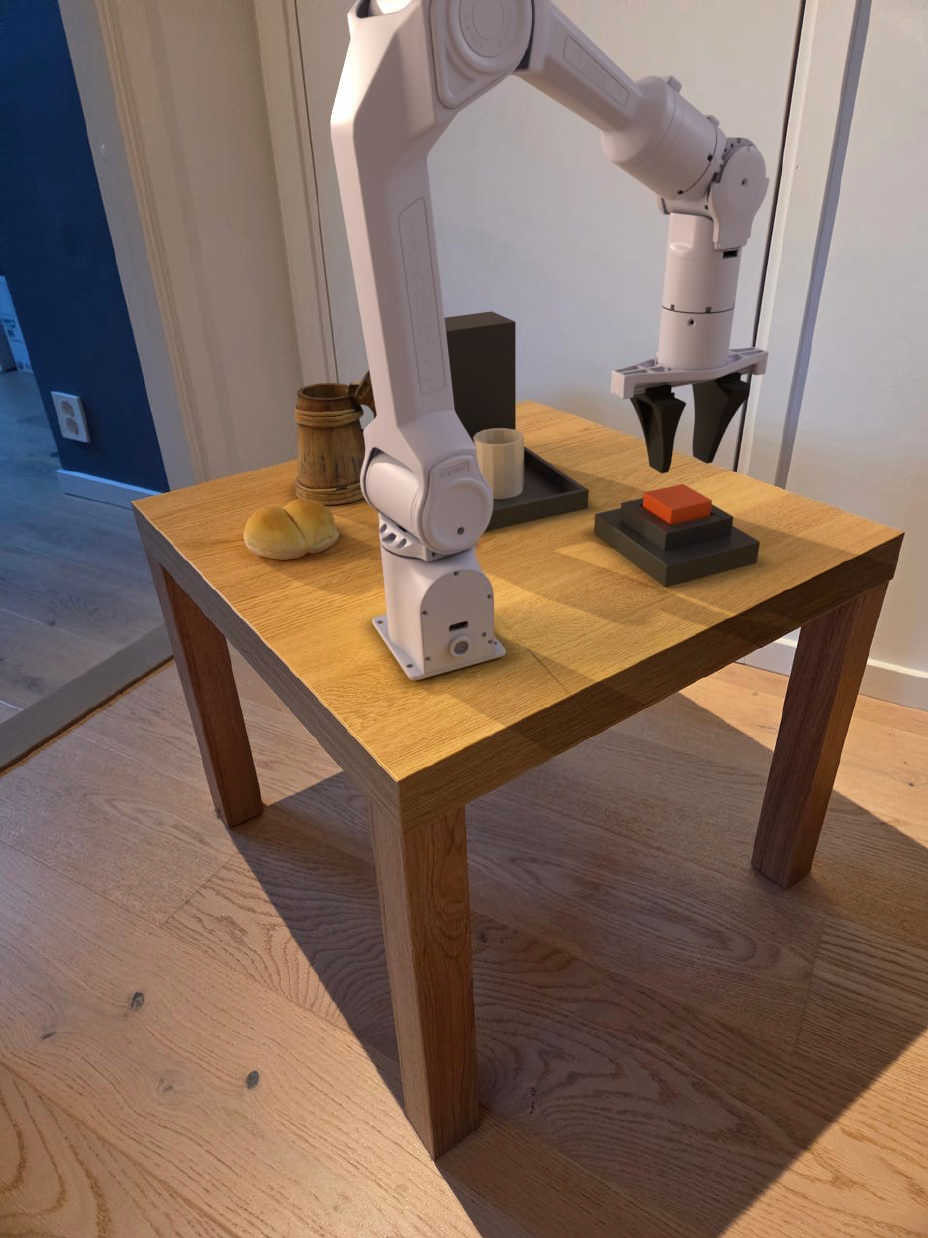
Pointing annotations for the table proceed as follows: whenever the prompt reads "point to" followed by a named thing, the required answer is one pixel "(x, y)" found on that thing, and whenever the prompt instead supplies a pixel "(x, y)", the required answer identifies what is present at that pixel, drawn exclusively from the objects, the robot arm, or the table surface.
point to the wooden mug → (331, 440)
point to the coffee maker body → (483, 370)
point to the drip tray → (539, 495)
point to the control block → (676, 543)
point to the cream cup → (501, 460)
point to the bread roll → (291, 530)
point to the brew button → (677, 504)
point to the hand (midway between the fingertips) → (680, 464)
